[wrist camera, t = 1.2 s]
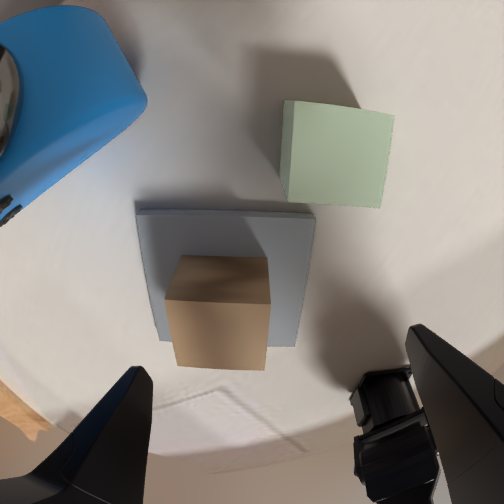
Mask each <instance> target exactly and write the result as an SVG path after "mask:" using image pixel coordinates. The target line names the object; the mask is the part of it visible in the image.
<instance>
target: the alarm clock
mask: <svg viewBox="0 0 504 504" xmlns="http://www.w3.org/2000/svg"><path fill="white" fill-rule="evenodd" d="M146 106H147V96H146V94H145V92H144V90H143V88H142V86H141V85H140V83H139V81H138V79H137V77H136V76H135V74H134V72H133V70H132V68H131V67H130V65H129V63H128V61H127V59H126V57H125V56H124V54H123V52H122V50H121V48H120V46H119V45H118V43H117V41H116V39H115V37H114V35H113V34H112V32H111V30H110V28H109V26H108V24H107V22H106V21H105V20H104V18H103V17H102V16H100V15H99V14H98V13H97V12H95V11H93V10H90V9H87V8H84V7H78V6H69V5H60V6H51V7H45V8H41V9H36V10H32V11H29V12H26V13H23V14H20V15H17V16H15V17H13V18H10V19H8V20H6V21H4V22H2V23H0V227H1V226H2V225H3V224H4V225H5V224H6V223H7V222H8V221H9V219H11V218H13V217H14V216H15V215H16V214H17V213H18V212H20V211H21V210H22V209H23V208H25V207H26V206H27V205H28V204H30V203H31V202H32V201H33V200H35V199H36V198H37V197H38V196H40V195H41V194H42V193H44V192H45V191H46V190H47V189H49V188H50V187H51V186H53V185H54V184H55V183H56V182H58V181H59V180H60V179H62V178H63V177H64V176H65V175H67V174H68V173H69V172H71V171H72V170H73V169H75V168H76V167H77V166H78V165H80V164H81V163H82V162H84V161H85V160H86V159H88V158H89V157H90V156H92V155H93V154H94V153H95V152H97V151H98V150H99V149H101V148H102V147H103V146H105V145H106V144H107V143H108V142H110V141H111V140H112V139H114V138H115V137H116V136H117V135H119V134H120V133H121V132H122V131H123V130H125V129H126V128H127V127H128V126H129V125H131V124H132V123H133V122H134V121H135V120H136V119H137V118H138V117H139V116H140V115H141V114H142V113H143V111H144V109H145V108H146Z"/></svg>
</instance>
